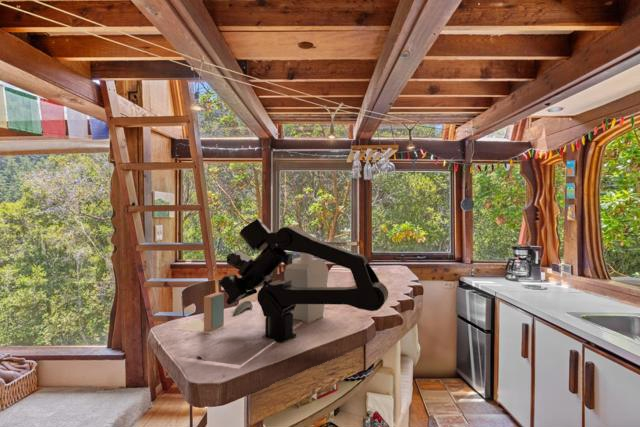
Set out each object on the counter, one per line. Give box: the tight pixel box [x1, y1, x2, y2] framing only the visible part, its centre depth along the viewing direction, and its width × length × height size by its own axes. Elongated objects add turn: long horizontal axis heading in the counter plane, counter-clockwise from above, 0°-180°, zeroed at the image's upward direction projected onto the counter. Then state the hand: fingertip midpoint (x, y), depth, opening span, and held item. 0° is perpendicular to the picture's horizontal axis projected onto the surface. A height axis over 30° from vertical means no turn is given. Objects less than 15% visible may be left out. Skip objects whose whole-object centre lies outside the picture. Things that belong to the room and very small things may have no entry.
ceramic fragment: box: [230, 300, 253, 317], centre depth 120 cm, size 14×5×4 cm, turn 166°
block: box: [203, 292, 225, 331], centre depth 101 cm, size 2×6×9 cm, turn 161°
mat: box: [172, 319, 230, 334], centre depth 102 cm, size 12×9×1 cm
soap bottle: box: [283, 232, 329, 324], centre depth 114 cm, size 12×10×26 cm
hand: (228, 303), depth 100 cm, fingers closed
